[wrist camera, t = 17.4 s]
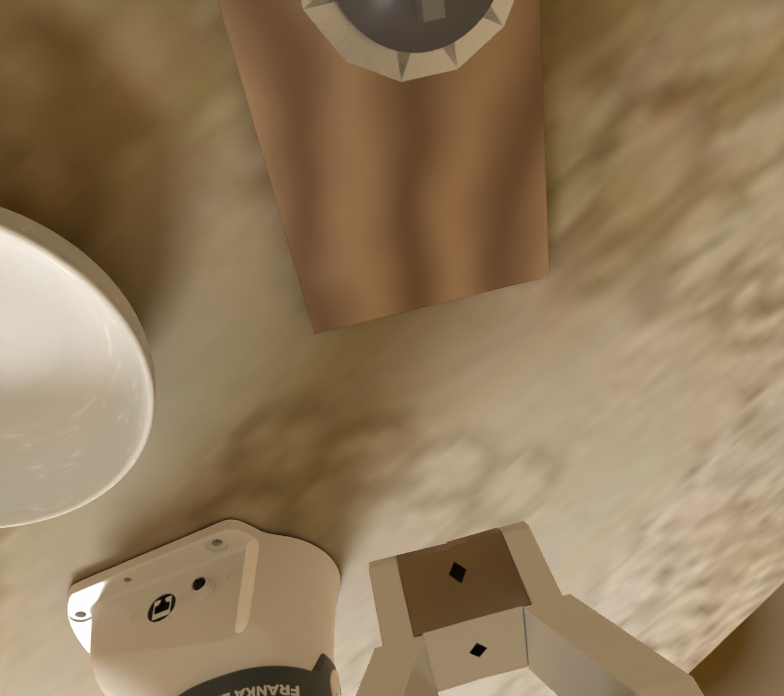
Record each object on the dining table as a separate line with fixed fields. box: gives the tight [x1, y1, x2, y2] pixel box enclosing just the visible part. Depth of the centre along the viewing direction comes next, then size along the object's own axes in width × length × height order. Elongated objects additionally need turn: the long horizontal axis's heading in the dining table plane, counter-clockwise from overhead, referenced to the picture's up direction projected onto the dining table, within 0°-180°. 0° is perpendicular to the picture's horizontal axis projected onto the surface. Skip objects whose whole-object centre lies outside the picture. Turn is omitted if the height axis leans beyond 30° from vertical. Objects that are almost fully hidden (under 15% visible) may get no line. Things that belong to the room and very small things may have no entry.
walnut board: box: [218, 0, 549, 334], centre depth 34 cm, size 16×26×2 cm, turn 10°
